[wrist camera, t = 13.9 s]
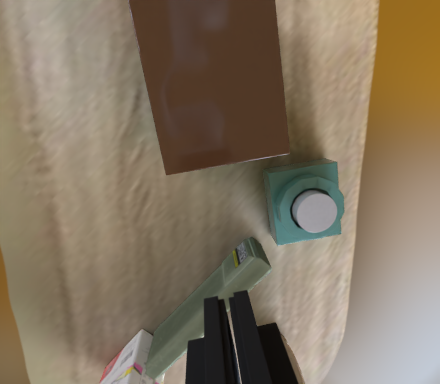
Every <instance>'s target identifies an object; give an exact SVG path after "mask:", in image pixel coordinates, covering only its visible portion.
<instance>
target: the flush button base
mask: <svg viewBox="0 0 440 384" xmlns="http://www.w3.org/2000/svg"><path fill="white" fill-rule="evenodd" d="M263 177H264V184H265V192H266V200H267V208H268V216H269V223H270V231H271V236H272V238H273V239H274V241H275V243H276V244H277V246H278V245H284V244H289V243H295V242H300V241H308V240H314V239H319V238H323V237H328V236H333V235H339V234H341V218H342V216H343V214H344V196H343V194H342V193H341V192H340V190H339V186H338V170H337V162H336V161H332V160H329V159H325V158H324V159H318V160H313V161H307V162H301V163H296V164H290V165H284V166H279V167H273V168H267V169H263ZM308 190H318V191H321V192H323V193H324V194H326V195H328V196H329V197H331V198H332V199H333V200H334V202H335V204H336V207H337V215H336V219H335V221H334V222H333V224H332V225H331V226H330V227H329V228H328V229H326V230H324V231H322V232H317V233H313V232H308V231H306V230H304V229H303V228H302V227H301V226H300V225H299V224H298V223H297V222H296V221H295V219H294V218H293V215H292V206H293V203H294V201H295V199H296V198H297V197H298V196H299V195H300V194H301V193H303V192H305V191H308Z"/></svg>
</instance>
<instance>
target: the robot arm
mask: <svg viewBox="0 0 440 384" xmlns="http://www.w3.org/2000/svg"><path fill="white" fill-rule="evenodd" d="M233 294H234V297H229V298H228V299H229V305H230V311H231V318H232V324H233V330H234V337H235V343H236V350H237V356H238V362H239V369H240V375H241V381H242V384H299V383H298V381H297V378H296V375H295V372H294V370H293V367H292V364H291V362H290V359H289V356H288V353H287V351H286V348H285V345H284V343H283V340H282V337H281V335H280V332H279V329H278V327H277V324H276V323H271V324H266V325H261V326H257V324H256V321H255V317H254V313H253V310H252V306H251V302H250V299H249V295H248V291H247V290H243V291H238V292H233ZM185 384H241V383H240V377H239V370H238V364H237V358H236V353H235V348H234V344H233V339H232V334H231V329H230V325H229V320H228V315H227V310H226V306H225V301H224V299H219V298H218V296H214V297H209V298H204V337H203V338H198V339H193V340H189V341H188V345H187V362H186V381H185Z"/></svg>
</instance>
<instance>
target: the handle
mask: <svg viewBox="0 0 440 384" xmlns="http://www.w3.org/2000/svg"><path fill="white" fill-rule="evenodd" d="M281 337H282V340H283V343H284V345H285V348H286V351H287V353H288V356H289V359H290V362H291V364H292V367H293V370H294V372H295V375H296V378H297V381H298V383H299V384H305V382H304V379H303V376H302V373H301V370H300V367H299V365H298V362H297V360H296V358H295V356H294V354H293V352H292V350H291V348H290V347H289V345H288V344H287V343H288V342H287V340H286V339H285V337H284V336H283V335H281Z"/></svg>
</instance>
